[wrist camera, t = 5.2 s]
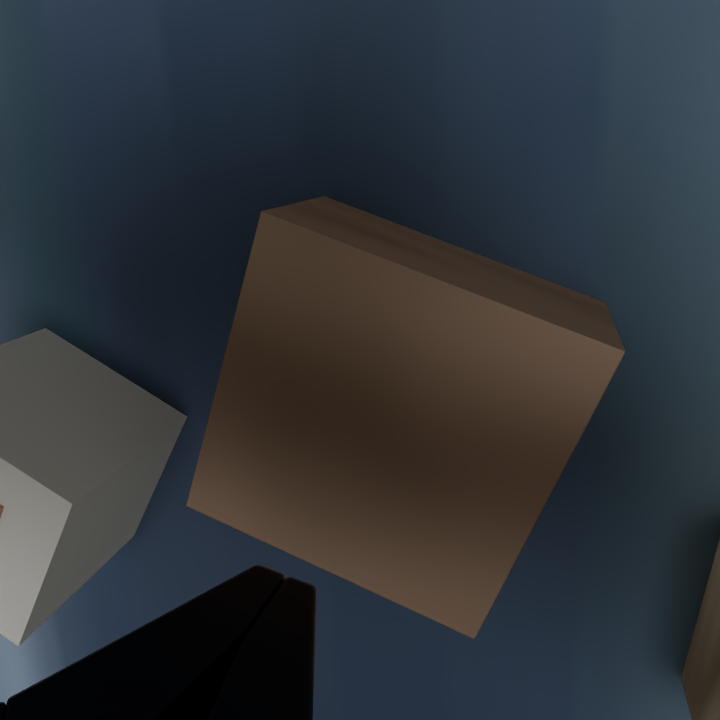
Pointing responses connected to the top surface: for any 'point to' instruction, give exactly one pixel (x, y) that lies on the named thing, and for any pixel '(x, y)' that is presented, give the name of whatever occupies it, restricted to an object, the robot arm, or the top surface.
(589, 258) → the top surface
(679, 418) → the top surface
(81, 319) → the top surface
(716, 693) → the beech block marked
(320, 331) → the walnut block
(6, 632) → the grey block marked
